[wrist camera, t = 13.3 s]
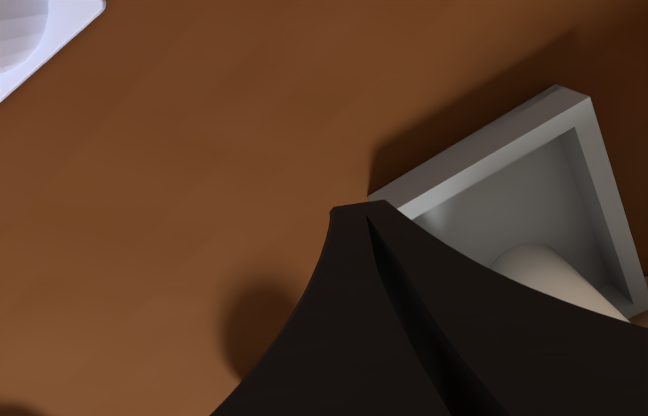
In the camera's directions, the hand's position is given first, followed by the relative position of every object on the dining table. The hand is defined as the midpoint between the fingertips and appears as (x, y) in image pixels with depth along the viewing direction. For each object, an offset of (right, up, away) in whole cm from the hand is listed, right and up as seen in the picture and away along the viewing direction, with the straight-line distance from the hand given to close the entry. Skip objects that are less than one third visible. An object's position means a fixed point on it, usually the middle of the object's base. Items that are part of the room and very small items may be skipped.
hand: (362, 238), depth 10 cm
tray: (+9, -1, +13) cm, 16 cm away
